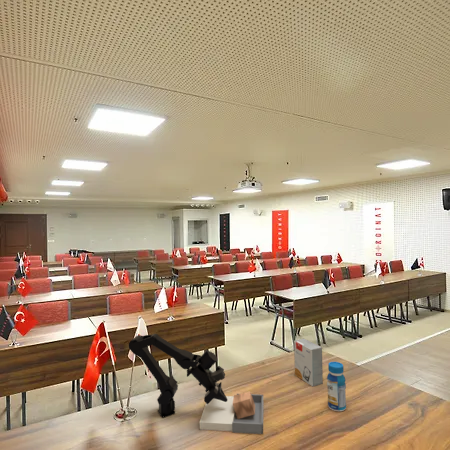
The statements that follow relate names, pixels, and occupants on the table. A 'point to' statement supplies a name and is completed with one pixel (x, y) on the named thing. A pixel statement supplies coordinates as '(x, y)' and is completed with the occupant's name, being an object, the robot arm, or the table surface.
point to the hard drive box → (308, 362)
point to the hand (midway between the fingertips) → (226, 400)
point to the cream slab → (218, 415)
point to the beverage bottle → (336, 387)
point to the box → (251, 419)
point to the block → (244, 405)
